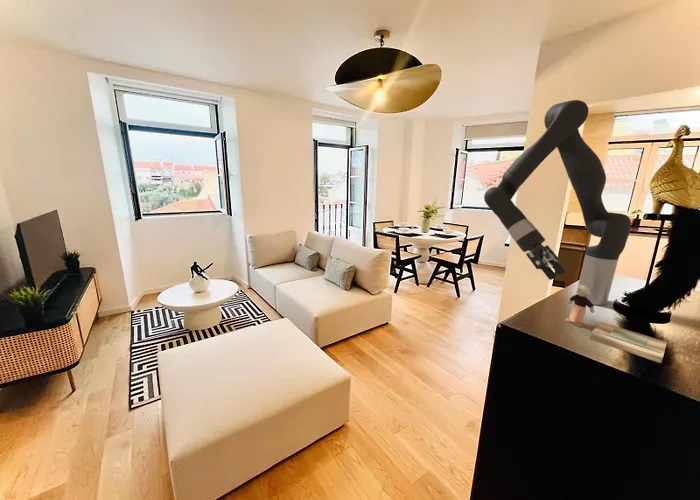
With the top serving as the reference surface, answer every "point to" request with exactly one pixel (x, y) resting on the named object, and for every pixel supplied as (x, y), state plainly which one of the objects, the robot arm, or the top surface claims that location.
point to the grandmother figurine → (580, 305)
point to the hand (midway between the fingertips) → (558, 276)
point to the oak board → (629, 341)
